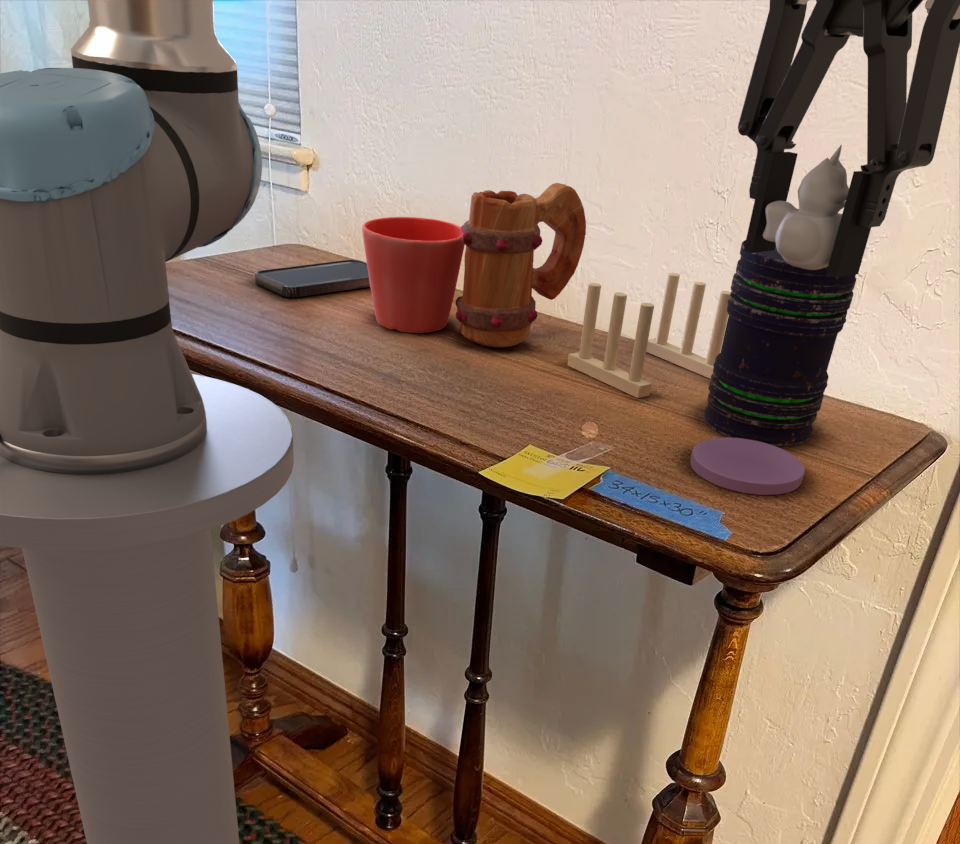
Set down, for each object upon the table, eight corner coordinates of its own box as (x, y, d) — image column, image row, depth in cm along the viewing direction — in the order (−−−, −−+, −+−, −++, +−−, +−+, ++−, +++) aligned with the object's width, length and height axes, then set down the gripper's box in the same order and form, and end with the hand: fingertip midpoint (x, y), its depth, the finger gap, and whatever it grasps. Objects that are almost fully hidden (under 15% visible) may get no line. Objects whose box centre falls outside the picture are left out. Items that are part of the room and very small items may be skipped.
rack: (637, 398, 90) (653, 309, 85) (567, 365, 96) (578, 281, 91) (725, 378, 97) (744, 295, 92) (654, 349, 103) (668, 269, 98)
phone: (250, 271, 111) (356, 258, 120) (251, 281, 112) (356, 267, 120) (288, 288, 106) (394, 273, 115) (288, 298, 107) (394, 283, 116)
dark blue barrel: (681, 419, 86) (726, 204, 76) (736, 396, 92) (784, 194, 82) (780, 456, 81) (843, 230, 71) (831, 429, 87) (895, 217, 77)
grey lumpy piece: (823, 281, 65) (859, 151, 61) (737, 260, 69) (765, 135, 64) (855, 271, 69) (891, 147, 64) (772, 251, 72) (801, 132, 68)
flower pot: (381, 341, 98) (383, 240, 92) (348, 310, 106) (348, 215, 100) (476, 335, 102) (483, 239, 96) (437, 306, 110) (442, 215, 104)
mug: (475, 358, 96) (487, 195, 87) (434, 333, 101) (442, 178, 93) (590, 343, 103) (612, 191, 94) (546, 321, 108) (564, 176, 100)
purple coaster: (753, 504, 73) (756, 493, 72) (667, 460, 78) (669, 449, 78) (824, 480, 77) (827, 469, 77) (738, 440, 83) (740, 429, 82)
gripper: (1103, -148, 51) (951, 292, 64) (805, -139, 64) (728, 229, 77) (1036, -170, 47) (888, 304, 60) (732, -156, 60) (664, 235, 73)
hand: (799, 261), depth 69 cm, fingers closed on grey lumpy piece, 6 cm apart
